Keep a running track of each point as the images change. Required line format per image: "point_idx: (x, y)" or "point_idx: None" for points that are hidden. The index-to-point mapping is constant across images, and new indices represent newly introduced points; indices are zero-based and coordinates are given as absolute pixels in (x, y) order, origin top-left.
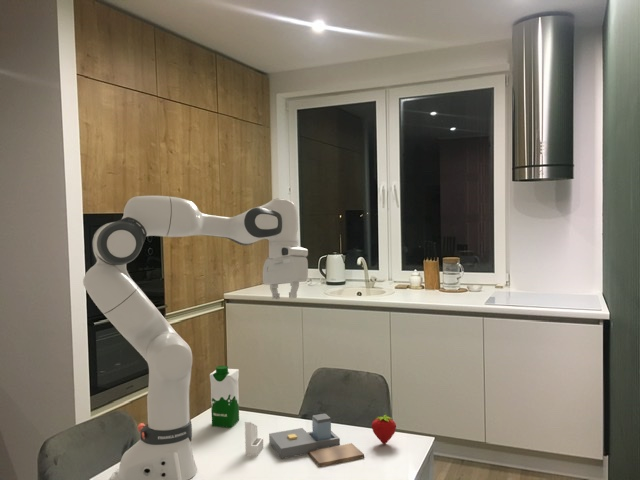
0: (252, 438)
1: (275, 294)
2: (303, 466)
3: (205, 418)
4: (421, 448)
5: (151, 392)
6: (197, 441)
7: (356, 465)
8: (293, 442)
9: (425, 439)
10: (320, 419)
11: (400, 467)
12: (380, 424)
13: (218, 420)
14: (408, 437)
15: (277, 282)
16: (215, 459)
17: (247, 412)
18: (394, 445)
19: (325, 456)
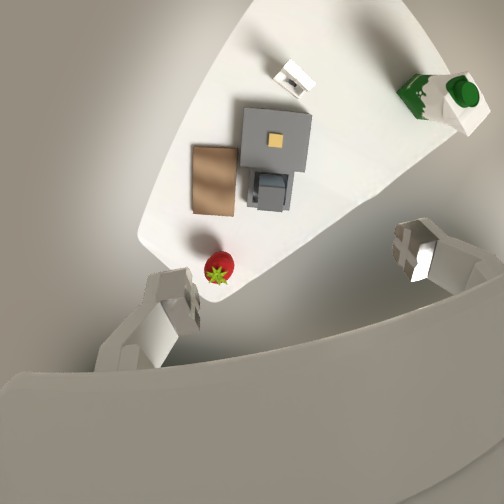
0: (286, 74)
1: (414, 246)
2: (206, 126)
3: None
4: None
5: None
6: (372, 30)
7: (177, 192)
8: (256, 134)
9: (210, 298)
10: (260, 192)
11: (154, 235)
12: (210, 263)
13: (412, 79)
14: (224, 287)
15: (393, 321)
16: (294, 25)
17: (435, 146)
18: None
19: (209, 164)
